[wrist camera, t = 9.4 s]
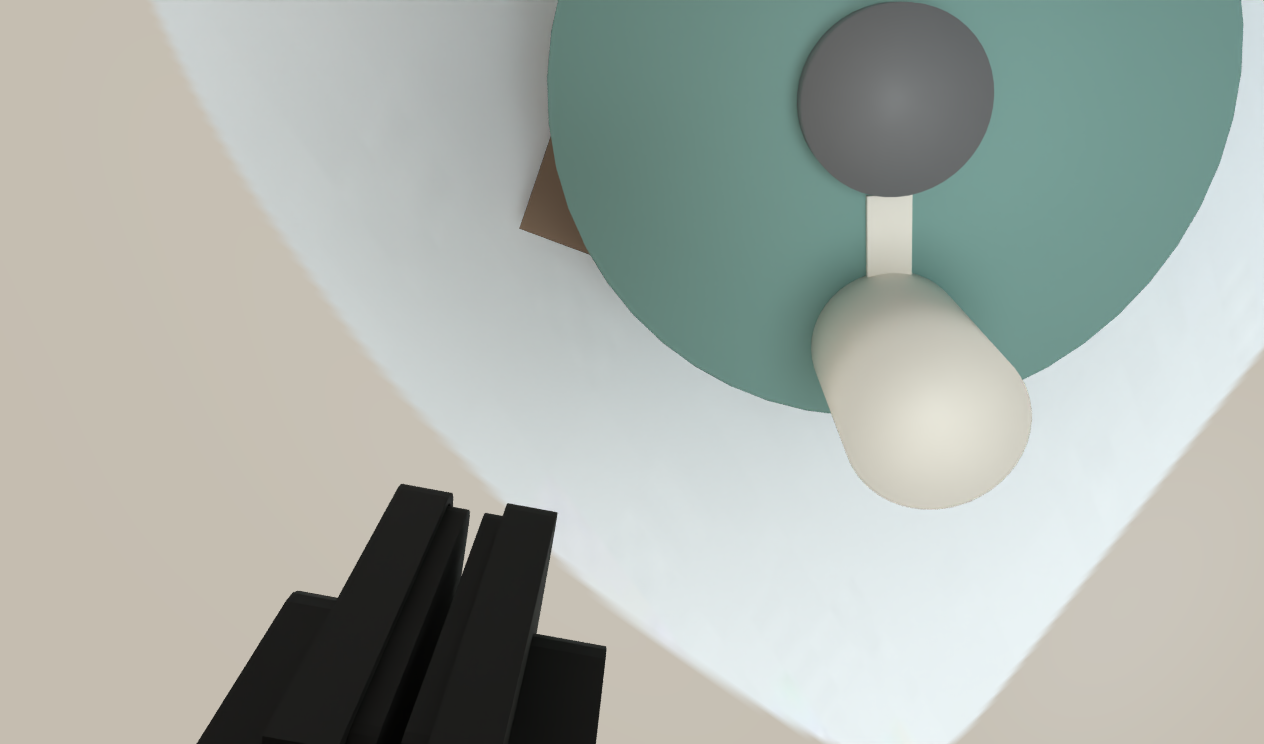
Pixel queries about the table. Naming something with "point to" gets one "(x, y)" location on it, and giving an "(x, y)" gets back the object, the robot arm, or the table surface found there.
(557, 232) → the stand
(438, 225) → the table surface
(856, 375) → the handwheel
